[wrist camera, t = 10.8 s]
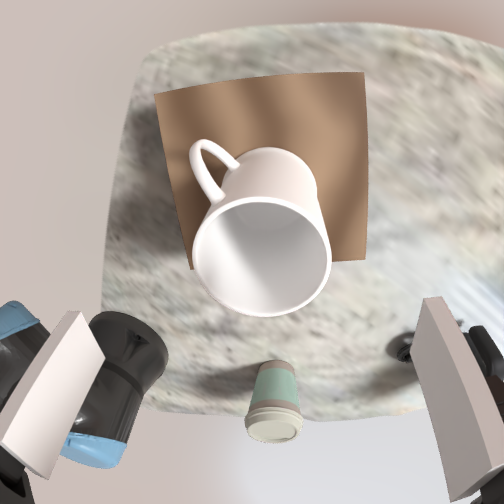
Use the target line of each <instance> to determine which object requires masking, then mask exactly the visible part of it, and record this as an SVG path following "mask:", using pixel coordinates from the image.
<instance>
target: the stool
mask: <svg viewBox="0 0 504 504" xmlns="http://www.w3.org/2000/svg"><path fill="white" fill-rule="evenodd" d="M154 97H155V103H156V109H157V115H158V121H159V126H160V132H161V137H162V143H163V148H164V153H165V158H166V163H167V168H168V173H169V178H170V183H171V188H172V192H173V197H174V202H175V206H176V211H177V215H178V220H179V224H180V228H181V233H182V237H183V241H184V245H185V249H186V254H187V258H188V262H189V266H190V270H193V269H194V266H193V260H192V249H193V243H194V239H195V236H196V234H197V231H198V229H199V227H200V225H201V223H202V222H203V220H204V218H205V216H206V214H207V212H208V210H209V208H210V207H211V205H212V204H211V202H210V200H209V199H208V197H207V196H206V194H205V193H204V191H203V189H202V188H201V186H200V184H199V183H198V181H197V179H196V177H195V175H194V172H193V170H192V167H191V164H190V159H189V152H190V148H191V146H192V145H193V144H194V143H195V142H197V141H198V140H201V139H206V140H209V141H212V142H214V143H216V144H217V145H219V146H220V147H222V148H223V149H224V150H225V151H226V152H228V153H229V154H230V155H231V156H232V157H233V158H234V159H235V160H236V159H237V158H238V157H240V156H241V155H243V154H244V153H246V152H248V151H251V150H254V149H257V148H263V147H274V148H280V149H283V150H286V151H289V152H291V153H293V154H295V155H296V156H298V157H299V158H300V159H301V160H303V161H304V162H305V164H306V165H307V166H308V167H309V169H310V170H311V172H312V174H313V176H314V179H315V182H316V186H317V199H318V202H319V206H320V209H321V213H322V217H323V220H324V224H325V228H326V232H327V235H328V239H329V243H330V248H331V256H332V261H331V262H336V261H351V260H365V257H366V240H367V217H368V131H367V109H366V92H365V79H364V73H363V72H329V73H302V74H286V75H274V76H263V77H253V78H245V79H237V80H229V81H222V82H216V83H209V84H203V85H198V86H192V87H187V88H182V89H177V90H172V91H167V92H163V93H158V94H154ZM200 151H201V156H202V159H203V162H204V164H205V166H206V168H207V170H208V172H209V173H210V175H211V177H212V178H213V180H214V181H215V183H216V184H217V185H218V187H219V188H221V186H222V182H223V178H224V176H225V173H226V171H227V170H228V168H227V166H226V165H225V164H224V163H223V162H222V161H221V160H219V159H218V158H217V157H216V156H214V155H213V154H212V153H210V152H208V151H206V150H204V149H200Z"/></svg>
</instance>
